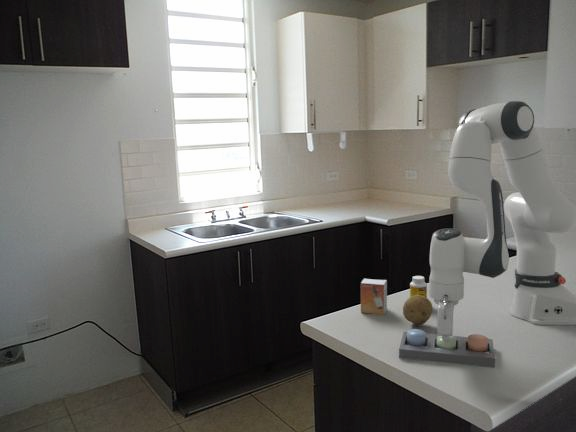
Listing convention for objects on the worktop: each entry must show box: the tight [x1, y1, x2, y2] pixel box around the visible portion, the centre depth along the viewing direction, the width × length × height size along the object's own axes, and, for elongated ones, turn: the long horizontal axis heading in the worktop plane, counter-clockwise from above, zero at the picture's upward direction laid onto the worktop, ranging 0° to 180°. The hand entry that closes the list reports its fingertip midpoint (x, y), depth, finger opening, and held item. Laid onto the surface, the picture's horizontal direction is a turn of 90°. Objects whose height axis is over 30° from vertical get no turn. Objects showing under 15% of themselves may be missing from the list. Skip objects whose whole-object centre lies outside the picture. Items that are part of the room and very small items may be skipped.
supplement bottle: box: [409, 275, 428, 299], centre depth 173 cm, size 6×6×10 cm
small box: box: [360, 278, 388, 316], centre depth 170 cm, size 8×6×10 cm
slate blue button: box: [406, 328, 427, 347], centre depth 140 cm, size 5×5×3 cm
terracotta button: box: [467, 333, 489, 353], centre depth 135 cm, size 5×5×3 cm
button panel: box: [398, 331, 496, 368], centre depth 138 cm, size 24×12×2 cm, turn 71°
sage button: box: [436, 335, 457, 350], centre depth 138 cm, size 5×5×3 cm
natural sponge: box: [402, 295, 434, 327], centre depth 156 cm, size 9×9×10 cm
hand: (445, 338), depth 137 cm, fingers closed, pressing on sage button
